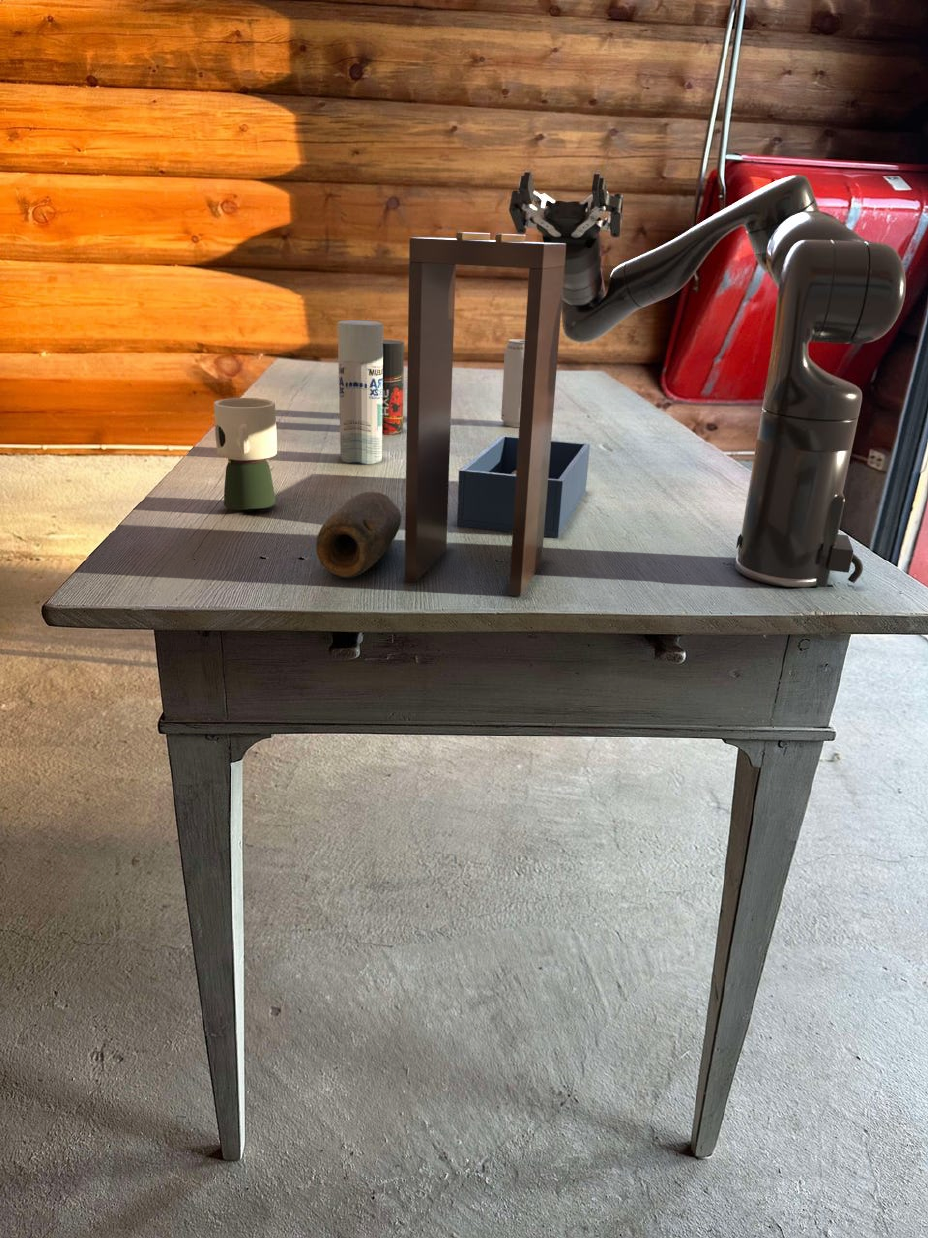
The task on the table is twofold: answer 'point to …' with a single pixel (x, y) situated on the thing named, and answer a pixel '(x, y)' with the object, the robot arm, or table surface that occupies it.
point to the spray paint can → (360, 390)
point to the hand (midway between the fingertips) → (561, 179)
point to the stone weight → (358, 534)
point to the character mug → (246, 450)
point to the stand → (434, 391)
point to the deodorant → (392, 387)
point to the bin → (493, 487)
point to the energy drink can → (512, 382)
